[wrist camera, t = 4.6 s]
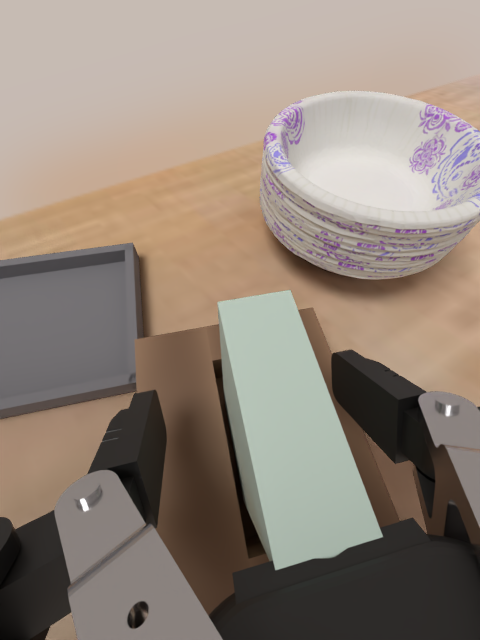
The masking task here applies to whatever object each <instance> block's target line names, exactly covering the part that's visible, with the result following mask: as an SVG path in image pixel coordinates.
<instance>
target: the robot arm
mask: <svg viewBox="0 0 480 640" xmlns="http://www.w3.org/2000/svg"><path fill="white" fill-rule="evenodd" d="M331 370H332V390H333V394H334V397H335V399H336V400H337V402H338V403H339V404H340V405H341V406H342V407H343V409H344V410H345V411H346V412H347V413H348V414H349V415H350V416H351V417H352V418H353V419H354V420H355V421H356V422H357V424H358V425H359V426H360V427H361V428H362V429H363V430H364V431H365V432H366V433H367V434H368V435H369V436H370V437H371V439H372V440H373V441H374V442H375V443H376V444H377V445H378V446H379V447H380V448H381V449H382V450H383V451H384V452H385V454H386V455H387V456H388V457H389V458H390V459H391V460H392V461H393V462H394V463H395V464H397V463H400V462H404V461H408V460H410V461H411V462H412V463H413V464H414V465H413V476H414V480H415V484H416V488H417V492H418V496H419V500H420V504H421V508H422V512H423V516H424V520H425V524H426V529H427V534H426V533H425V532H424V531H423V530H422V529H421V527H420V526H419V525H418V524H417V522H416V521H415V520H414V519H413V518H410V519H407V520H404V521H400V522H397V523H394V524H390V525H387V526H384V527H381V528H380V530H381V533H382V535H383V537H381V538H378V539H375V540H372V541H368V542H365V543H362V544H359V545H356V546H352V547H349V548H347V549H346V550H344V551H343V552H341V553H340V554H339V555H337V556H336V557H333V558H328V559H327V558H314V559H311V560H307V561H304V562H301V563H298V564H295V565H291V566H288V567H285V568H282V569H279V570H275V567H274V563H273V561H269V562H266V563H263V564H260V565H256V566H253V567H250V568H247V569H243V570H240V571H237V572H234V573H232V576H233V584H234V591H235V592H234V593H233V594H232V595H230V596H229V597H227V598H226V599H225V600H224V601H223V602H221V603H220V604H219V605H218V606H217V607H216V608H215V609H214V610H213V611H212V612H211V613H210V615H209V616H208V615H207V613H206V611H205V610H204V608H203V606H202V605H201V603H200V601H199V600H198V598H197V597H196V595H195V593H194V592H193V590H192V588H191V587H190V585H189V584H188V582H187V580H186V579H185V577H184V575H183V574H182V572H181V570H180V569H179V567H178V566H177V564H176V562H175V561H174V559H173V557H172V556H171V554H170V552H169V551H168V549H167V548H166V546H165V544H164V543H163V541H162V539H161V538H160V536H159V534H158V533H157V531H156V530H155V528H157V524H158V515H159V506H160V497H161V488H162V480H163V471H164V462H165V453H166V444H167V432H166V425H165V421H164V417H163V413H162V409H161V405H160V401H159V397H158V394H157V391H156V390H150V391H145V392H140V393H135V394H134V396H133V399H132V401H131V404H130V407H129V409H124V410H121V411H120V412H119V413H118V414H117V415H116V416H115V417H114V418H113V419H112V420H111V422H110V424H109V426H108V428H107V431H106V433H105V435H104V438H103V440H102V443H101V444H100V447H99V449H98V451H97V453H96V456H95V458H94V460H93V462H92V465H91V467H90V469H89V472H88V474H87V475H85V476H83V477H82V478H80V479H78V480H77V481H76V482H74V483H73V484H72V485H71V486H69V487H68V488H67V489H66V490H65V491H64V493H63V494H62V495H61V496H60V498H59V500H58V501H57V503H56V506H55V510H53V511H51V512H50V513H48V514H46V515H44V516H42V517H40V518H38V519H36V520H34V521H32V522H29V523H27V524H25V525H23V526H21V527H19V528H17V529H14V527H13V525H12V523H11V521H10V520H9V519H8V518H4V517H0V640H45V638H46V636H47V633H48V631H49V628H50V626H51V625H52V624H54V623H55V622H57V621H58V620H60V619H62V618H63V617H65V616H66V615H68V614H69V613H71V612H72V616H73V621H74V626H75V630H76V635H77V639H78V640H480V407H476V406H475V405H474V404H473V403H472V402H470V401H469V400H467V399H465V398H463V397H461V396H458V395H455V394H451V393H446V392H436V391H435V392H426V391H424V390H422V389H421V388H419V387H418V386H416V385H415V384H413V383H411V382H410V381H408V380H407V379H405V378H403V377H402V376H399V375H398V374H397V373H395V372H394V371H391V370H390V369H389V368H387V367H386V366H384V365H383V364H381V363H379V362H376V361H373V360H370V359H366V358H364V357H363V356H361V355H359V354H358V353H356V352H355V351H353V350H347V351H342V352H337V353H333V354H332V357H331Z"/></svg>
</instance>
